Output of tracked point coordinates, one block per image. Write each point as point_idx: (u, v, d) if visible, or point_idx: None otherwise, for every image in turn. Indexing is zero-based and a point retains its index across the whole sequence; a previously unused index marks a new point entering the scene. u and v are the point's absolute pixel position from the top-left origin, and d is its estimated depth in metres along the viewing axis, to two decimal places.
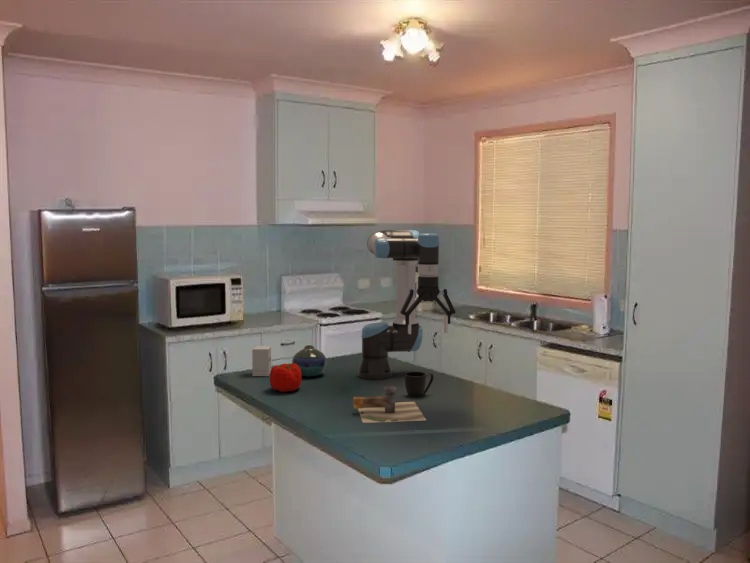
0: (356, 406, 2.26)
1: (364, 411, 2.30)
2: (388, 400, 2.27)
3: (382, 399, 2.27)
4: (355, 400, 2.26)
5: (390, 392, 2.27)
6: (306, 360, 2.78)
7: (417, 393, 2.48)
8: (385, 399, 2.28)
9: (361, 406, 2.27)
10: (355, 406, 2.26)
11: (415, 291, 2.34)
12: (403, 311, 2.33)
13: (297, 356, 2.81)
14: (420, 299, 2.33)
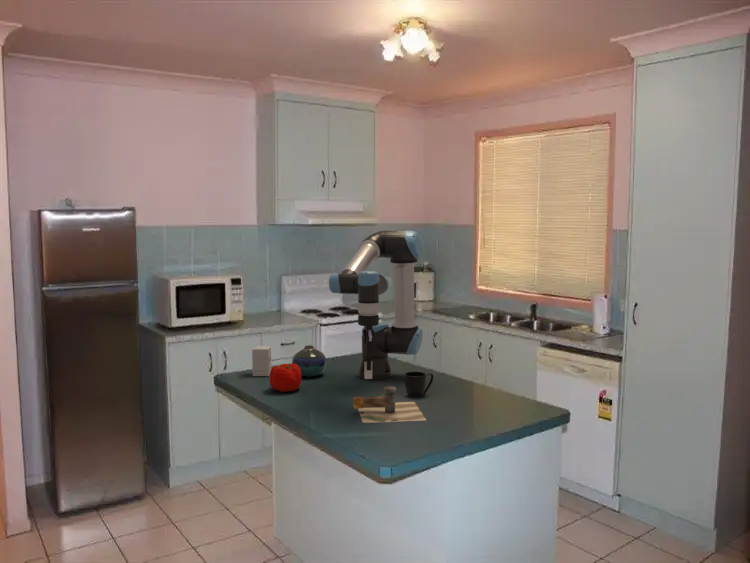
0: (356, 406, 2.26)
1: (364, 411, 2.30)
2: (388, 400, 2.27)
3: (382, 399, 2.27)
4: (355, 400, 2.26)
5: (390, 392, 2.27)
6: (306, 360, 2.78)
7: (417, 393, 2.48)
8: (385, 399, 2.28)
9: (361, 406, 2.27)
10: (355, 406, 2.26)
11: None
12: None
13: (297, 356, 2.81)
14: (363, 338, 2.33)
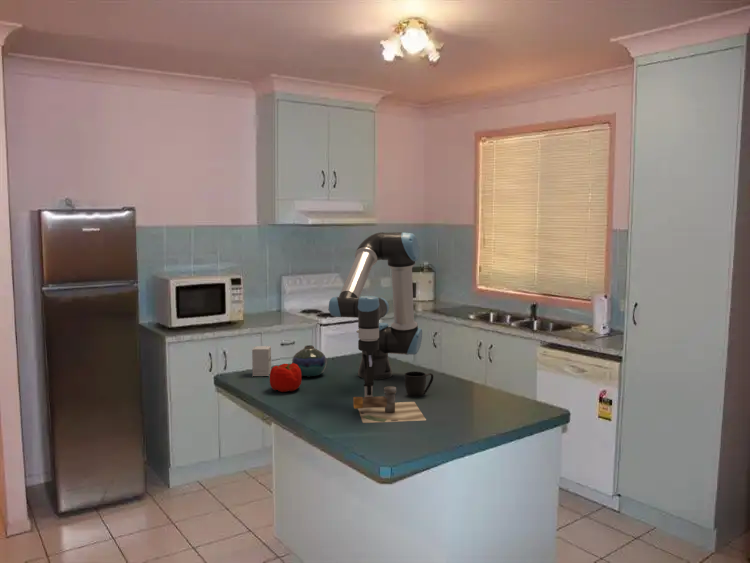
0: (356, 406, 2.26)
1: (364, 411, 2.30)
2: (388, 400, 2.27)
3: (382, 399, 2.27)
4: (355, 400, 2.26)
5: (390, 392, 2.27)
6: (306, 360, 2.78)
7: (417, 393, 2.48)
8: (385, 399, 2.28)
9: (361, 406, 2.27)
10: (355, 406, 2.26)
11: None
12: (364, 378, 2.36)
13: (297, 356, 2.81)
14: (363, 363, 2.33)
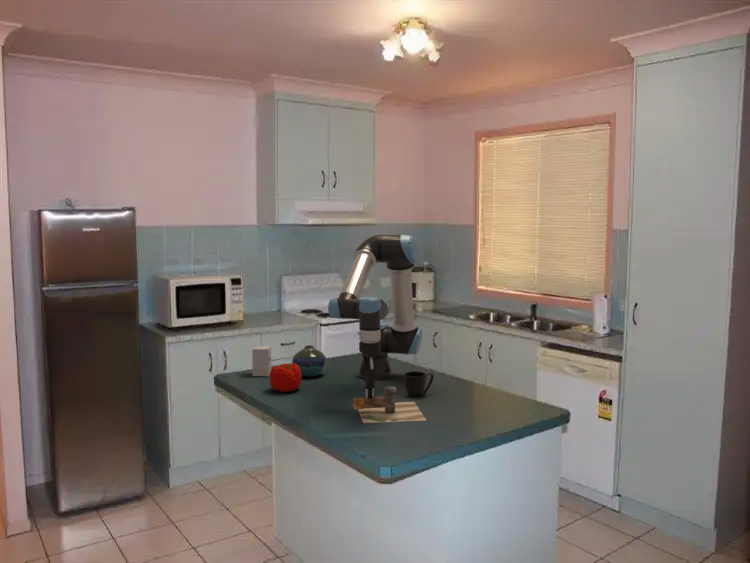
0: (357, 407, 2.25)
1: (364, 411, 2.30)
2: (388, 400, 2.27)
3: (382, 399, 2.27)
4: (356, 401, 2.25)
5: (391, 392, 2.27)
6: (306, 360, 2.78)
7: (417, 393, 2.48)
8: (385, 399, 2.27)
9: (362, 407, 2.26)
10: (356, 407, 2.25)
11: None
12: (365, 380, 2.32)
13: (297, 356, 2.81)
14: (364, 365, 2.29)
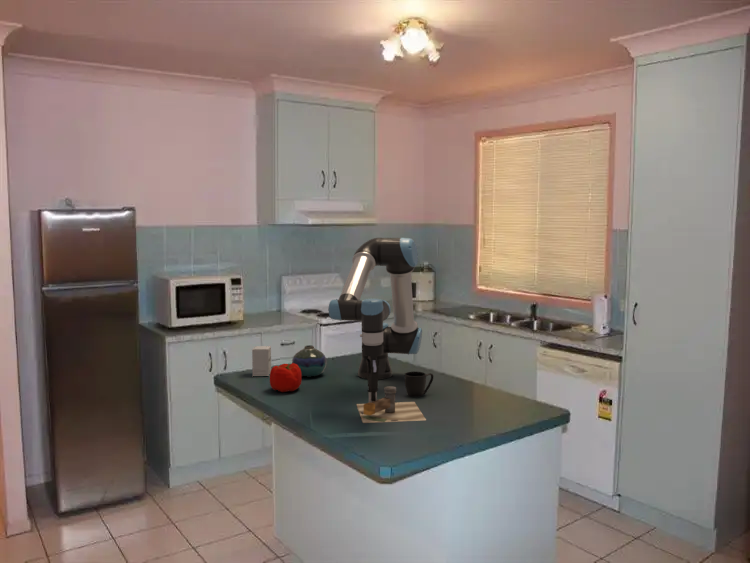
0: (370, 412, 2.19)
1: None
2: (392, 400, 2.27)
3: (387, 400, 2.26)
4: (370, 406, 2.19)
5: (394, 391, 2.27)
6: (306, 360, 2.78)
7: (417, 393, 2.48)
8: (389, 400, 2.27)
9: (374, 411, 2.20)
10: (370, 413, 2.19)
11: None
12: (368, 383, 2.28)
13: (297, 356, 2.81)
14: (367, 368, 2.26)
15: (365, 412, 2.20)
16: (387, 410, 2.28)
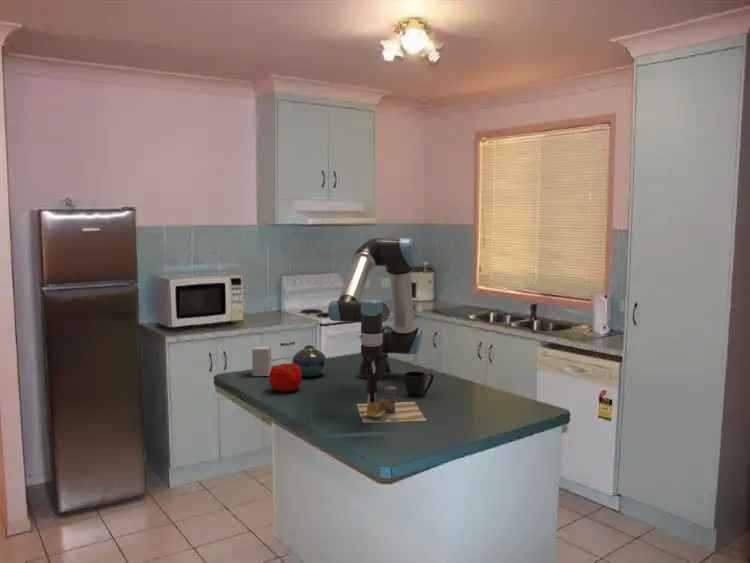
0: (374, 413, 2.18)
1: (364, 411, 2.30)
2: (392, 400, 2.28)
3: (388, 400, 2.26)
4: (374, 407, 2.18)
5: (395, 391, 2.27)
6: (306, 360, 2.78)
7: (417, 393, 2.48)
8: (390, 400, 2.27)
9: (377, 412, 2.20)
10: (374, 413, 2.18)
11: None
12: (367, 384, 2.28)
13: (297, 356, 2.81)
14: (366, 369, 2.25)
15: (369, 413, 2.19)
16: (388, 410, 2.28)
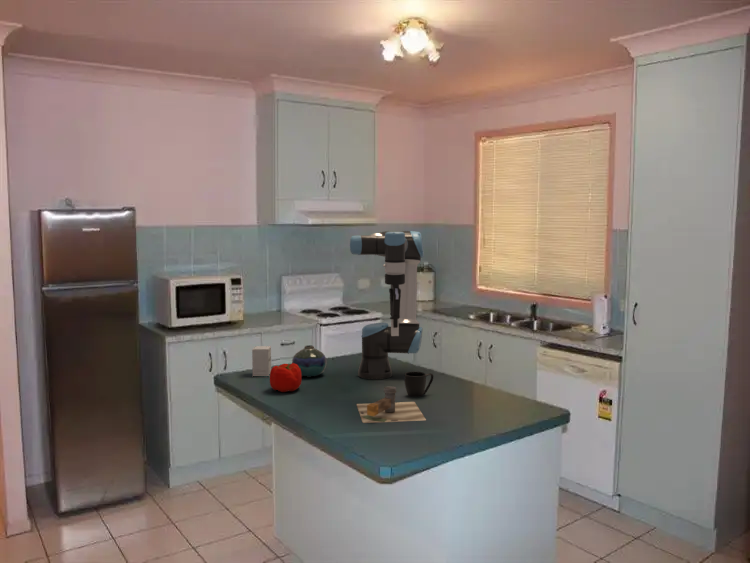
0: (374, 413, 2.18)
1: (364, 411, 2.30)
2: (392, 400, 2.28)
3: (388, 400, 2.26)
4: (374, 407, 2.18)
5: (395, 391, 2.27)
6: (306, 360, 2.78)
7: (417, 393, 2.48)
8: (390, 400, 2.27)
9: (377, 412, 2.20)
10: (374, 413, 2.18)
11: None
12: (390, 312, 2.43)
13: (297, 356, 2.81)
14: None
15: (369, 413, 2.19)
16: (388, 410, 2.28)
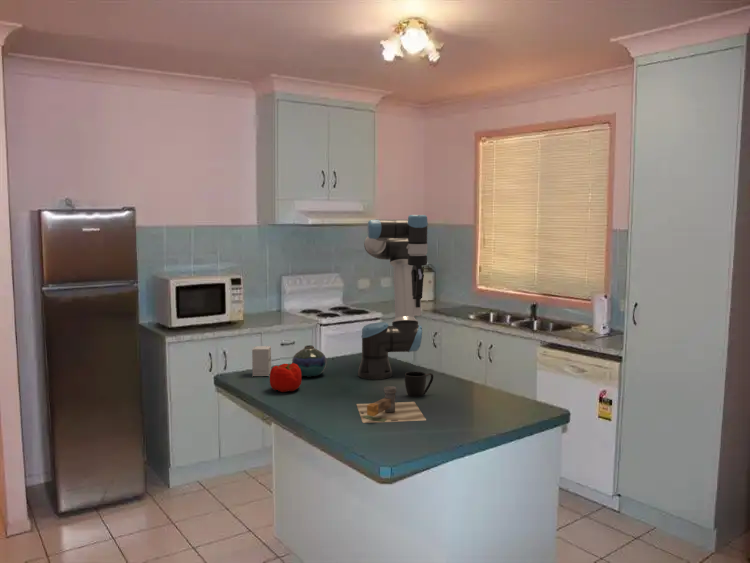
0: (374, 413, 2.18)
1: (364, 411, 2.30)
2: (392, 400, 2.28)
3: (388, 400, 2.26)
4: (374, 407, 2.18)
5: (395, 391, 2.27)
6: (306, 360, 2.78)
7: (417, 393, 2.48)
8: (390, 400, 2.27)
9: (377, 412, 2.20)
10: (374, 413, 2.18)
11: None
12: (412, 292, 2.52)
13: (297, 356, 2.81)
14: (412, 278, 2.49)
15: (369, 413, 2.19)
16: (388, 410, 2.28)
